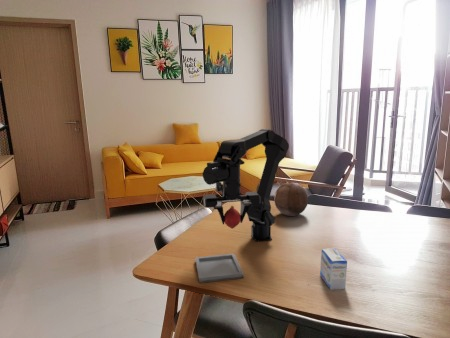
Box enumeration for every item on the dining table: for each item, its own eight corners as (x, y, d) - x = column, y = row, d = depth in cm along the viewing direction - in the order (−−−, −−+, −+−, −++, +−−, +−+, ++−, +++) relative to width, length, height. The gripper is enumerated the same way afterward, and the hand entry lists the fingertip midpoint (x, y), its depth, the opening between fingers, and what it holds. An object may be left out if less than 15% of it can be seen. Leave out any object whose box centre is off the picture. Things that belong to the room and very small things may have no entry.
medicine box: (319, 275, 96) (320, 248, 95) (334, 274, 97) (335, 247, 95) (330, 290, 89) (331, 261, 87) (346, 289, 89) (347, 260, 87)
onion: (239, 232, 108) (239, 209, 106) (222, 231, 109) (221, 208, 107) (241, 225, 113) (241, 203, 112) (225, 224, 114) (225, 203, 113)
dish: (234, 257, 108) (234, 253, 108) (243, 277, 96) (243, 273, 96) (195, 261, 106) (195, 257, 106) (199, 282, 94) (199, 278, 93)
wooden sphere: (310, 211, 151) (311, 180, 148) (303, 222, 138) (304, 188, 134) (279, 208, 157) (279, 178, 154) (269, 218, 144) (270, 185, 141)
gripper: (252, 172, 117) (252, 213, 120) (201, 175, 114) (202, 217, 117) (261, 179, 106) (261, 224, 109) (204, 182, 103) (206, 228, 106)
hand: (232, 223), depth 111 cm, fingers closed on onion, 6 cm apart
